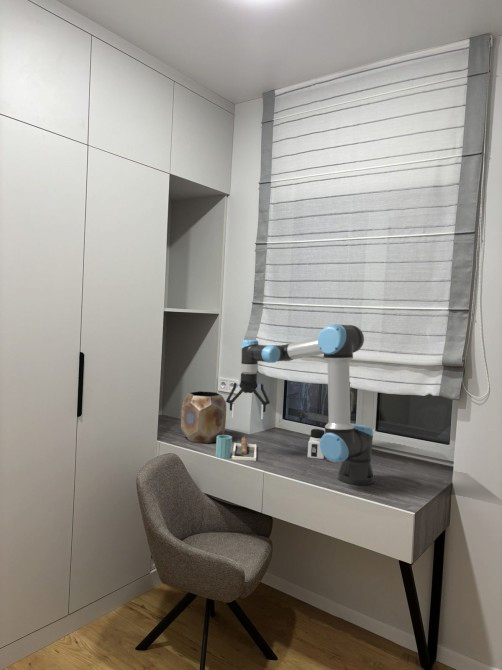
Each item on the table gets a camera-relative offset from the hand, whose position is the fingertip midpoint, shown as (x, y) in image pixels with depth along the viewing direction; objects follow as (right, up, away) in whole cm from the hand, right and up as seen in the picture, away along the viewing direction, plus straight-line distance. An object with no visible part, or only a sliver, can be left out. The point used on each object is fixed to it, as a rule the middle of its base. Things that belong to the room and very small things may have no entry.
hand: (247, 418), depth 241 cm
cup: (-11, -18, -4) cm, 21 cm away
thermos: (+47, -20, +25) cm, 57 cm away
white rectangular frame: (-1, -18, +4) cm, 18 cm away
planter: (-23, -16, +29) cm, 40 cm away
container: (+33, -20, +8) cm, 39 cm away
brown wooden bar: (-1, -18, 0) cm, 18 cm away
